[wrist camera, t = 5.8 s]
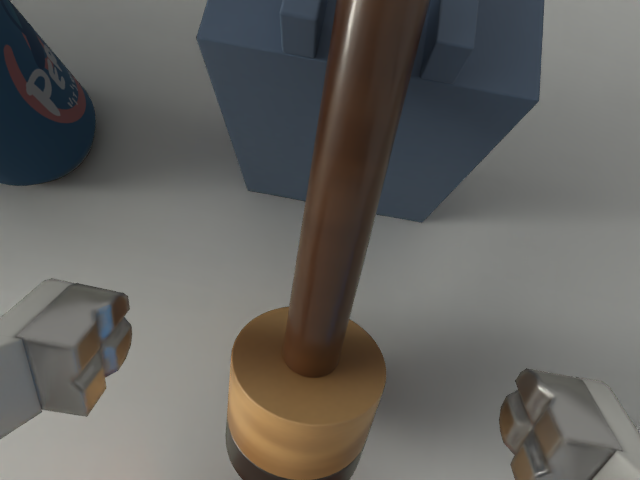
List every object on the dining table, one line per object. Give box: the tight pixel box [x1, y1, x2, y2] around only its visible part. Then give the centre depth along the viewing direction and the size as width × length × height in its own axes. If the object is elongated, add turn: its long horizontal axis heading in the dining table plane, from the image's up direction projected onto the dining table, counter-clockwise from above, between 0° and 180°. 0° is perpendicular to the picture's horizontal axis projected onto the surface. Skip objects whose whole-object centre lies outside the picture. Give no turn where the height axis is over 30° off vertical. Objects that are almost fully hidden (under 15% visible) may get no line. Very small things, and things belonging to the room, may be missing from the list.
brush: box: [226, 0, 430, 480], centre depth 15 cm, size 15×6×15 cm, turn 170°
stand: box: [196, 0, 544, 222], centre depth 18 cm, size 4×10×14 cm, turn 80°
